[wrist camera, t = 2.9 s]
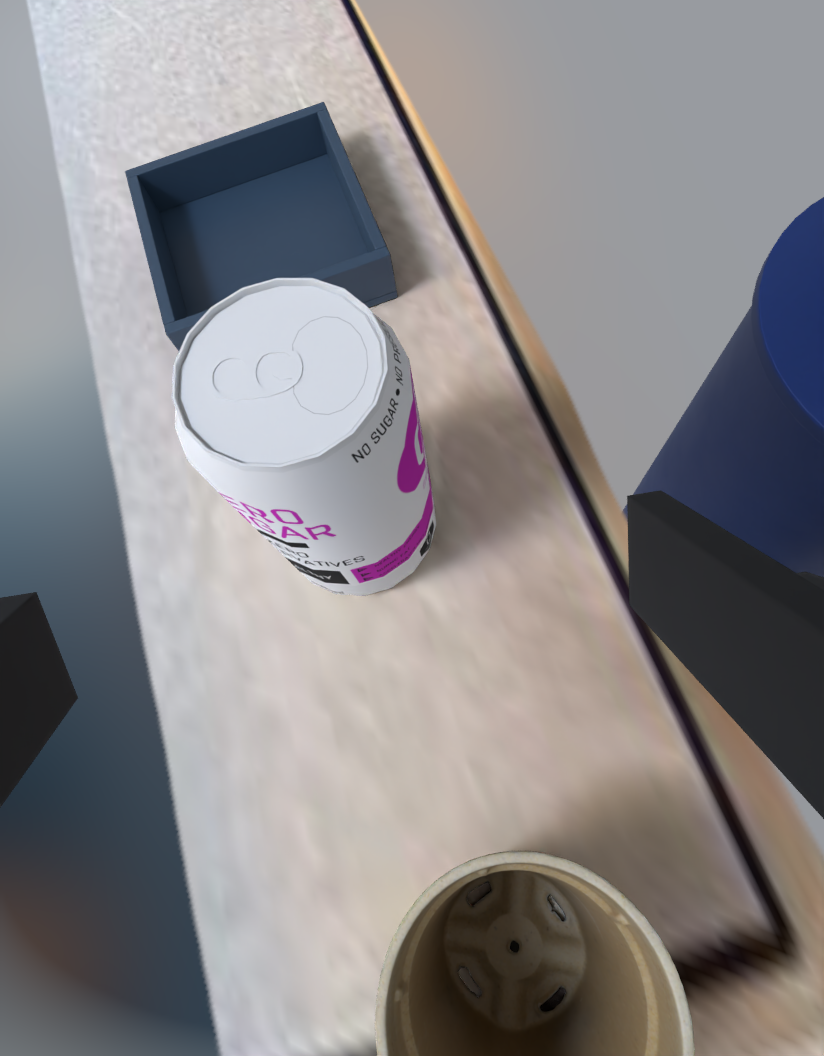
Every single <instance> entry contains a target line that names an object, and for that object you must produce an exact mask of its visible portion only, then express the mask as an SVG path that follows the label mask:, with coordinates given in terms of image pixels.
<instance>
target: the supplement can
mask: <svg viewBox="0 0 824 1056" xmlns="http://www.w3.org/2000/svg"><path fill="white" fill-rule="evenodd" d="M172 400H173V403H174V405H175V408H176V410H175V428H176V431H177V434H178V437H179V439H180V442H181V445H182V447H183V450H184V453H185V456H186V458H187V461H188V462H189V463H190V464H191V465H192V466H193V467H194V468H195V469H196V470H197V471H198V472H199V473H200V474H201V475H202V476H203V477H204V478H205V479H206V480H207V481H208V482H209V483H210V484H211V485H212V486H213V487H214V488H215V489H216V490H217V491H218V492H219V493H220V494H221V495H222V496H223V497H224V498H225V499H226V500H227V501H228V502H229V503H230V504H231V505H232V506H233V507H234V508H235V509H236V510H237V511H238V512H239V513H240V514H241V515H242V516H243V517H244V518H245V519H246V520H247V521H248V522H249V523H251V524H252V525H253V526H254V527H255V528H256V529H257V530H258V531H259V532H260V533H261V534H262V535H263V536H264V537H265V538H266V539H267V540H268V541H269V542H270V543H271V544H272V545H273V546H274V547H275V548H276V549H277V550H278V551H279V552H280V553H281V554H282V555H283V556H284V557H285V558H286V559H288V560H289V561H290V562H291V563H292V564H293V565H294V566H295V567H296V568H297V569H298V570H299V571H300V572H301V573H302V574H303V575H304V576H305V577H306V578H307V579H308V580H309V581H310V582H311V583H313V584H315V585H317V586H319V587H321V588H324V589H326V590H328V591H330V592H332V593H335V594H341V595H356V596H365V595H369V594H372V593H376V592H379V591H383V590H386V589H390V588H392V587H393V586H395V585H396V584H397V583H399V582H400V581H402V580H403V579H404V578H406V577H407V576H409V575H410V574H412V573H413V572H414V571H415V569H416V568H417V567H418V565H419V564H420V562H421V561H422V559H423V558H424V557H425V555H426V554H427V552H428V551H429V549H430V546H431V542H432V538H433V534H434V531H435V527H436V517H435V508H434V499H433V493H432V487H431V481H430V476H429V470H428V464H427V459H426V453H425V447H424V442H423V436H422V430H421V425H420V419H419V413H418V408H417V402H416V396H415V390H414V385H413V379H412V373H411V368H410V362H409V358H408V356H407V355H406V353H405V351H404V349H403V347H402V346H401V344H400V342H399V340H398V338H397V337H396V335H395V333H394V331H393V329H392V328H391V327H390V326H389V325H387V324H386V323H385V322H383V321H382V320H381V319H380V318H378V317H377V316H376V315H375V314H373V313H372V312H371V310H370V308H368V307H367V306H366V305H365V304H363V303H362V302H361V301H360V300H358V299H357V298H356V297H354V296H353V295H352V294H351V293H349V292H348V291H347V290H346V289H344V288H341V287H338V286H335V285H332V284H329V283H326V282H323V281H320V280H317V279H314V278H275V279H271V280H268V281H264V282H261V283H257V284H254V285H250V286H247V287H243V288H241V289H239V290H238V291H236V292H235V293H233V294H231V295H230V296H228V297H226V298H225V299H223V300H222V301H220V302H218V303H217V304H215V305H214V306H212V307H211V308H210V309H209V310H208V311H207V312H206V313H205V314H204V315H203V316H202V318H201V319H200V320H199V321H198V322H197V323H196V324H195V325H194V326H193V328H192V329H191V330H190V331H189V332H188V333H187V335H186V337H185V339H184V342H183V344H182V346H181V349H180V351H179V353H178V355H177V358H176V360H175V362H174V364H173V381H172Z"/></svg>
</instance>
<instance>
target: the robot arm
mask: <svg viewBox="0 0 824 1056" xmlns="http://www.w3.org/2000/svg"><path fill="white" fill-rule="evenodd" d="M627 499H628V502H627V503H628V553H629V603H630V606H631V607H632V608H633V609H634V611H635V612H636V613H637V614H638V615H639V616H640V617H641V618H642V619H643V620H644V622H645V623H646V624H647V625H648V626H649V627H650V628H651V629H652V630H653V631H654V633H655V634H656V635H657V636H658V637H659V638H660V639H661V640H662V641H663V642H664V644H665V645H666V646H667V647H668V648H669V649H670V650H671V651H672V652H673V653H674V655H675V656H676V657H677V658H678V659H679V660H680V661H681V662H682V663H683V664H684V666H685V667H686V668H687V669H688V670H689V671H690V672H691V673H692V674H693V675H694V677H695V678H696V679H697V680H698V681H699V682H700V683H701V684H702V685H703V686H704V688H705V689H706V690H707V691H708V692H709V693H710V694H711V695H712V696H713V697H714V699H715V700H716V701H717V702H718V703H719V704H720V705H721V706H722V707H723V708H724V710H725V711H726V712H727V713H728V714H729V715H730V716H731V717H732V718H733V720H734V721H735V722H736V723H737V724H738V725H739V726H740V727H741V728H742V729H743V731H744V732H745V733H746V734H747V735H748V736H749V737H750V738H751V739H752V740H753V742H754V743H755V744H756V745H757V746H758V747H759V748H760V749H761V750H762V751H763V753H764V754H765V755H766V756H767V757H768V758H769V759H770V760H771V761H772V762H773V764H774V765H775V766H776V767H777V768H778V769H779V770H780V771H781V772H782V773H783V775H784V776H785V777H786V778H787V779H788V780H789V781H790V782H791V783H792V784H793V786H794V787H795V788H796V789H797V790H798V791H799V792H800V793H801V794H802V795H803V796H804V798H805V799H806V800H807V801H808V802H809V803H810V804H811V805H812V806H813V808H814V809H815V810H816V811H818V813H819V814H820V815H821V816H822V817H823V819H824V577H820V576H817V575H814V574H811V573H808V572H801V573H795V572H793V571H792V570H790V569H788V568H787V567H785V566H783V565H782V564H780V563H779V562H777V561H775V560H774V559H772V558H770V557H769V556H767V555H765V554H764V553H762V552H761V551H759V550H757V549H756V548H754V547H752V546H751V545H749V544H747V543H746V542H744V541H743V540H741V539H739V538H738V537H736V536H734V535H733V534H731V533H729V532H728V531H726V530H725V529H723V528H721V527H720V526H718V525H716V524H715V523H713V522H711V521H710V520H708V519H707V518H705V517H703V516H702V515H700V514H698V513H697V512H695V511H693V510H692V509H690V508H689V507H687V506H685V505H684V504H682V503H680V502H679V501H677V500H675V499H674V498H672V497H671V496H669V495H667V494H666V493H664V492H662V491H655V492H649V493H643V494H636V495H630V496H627ZM77 699H78V697H77V694H76V692H75V689H74V687H73V684H72V682H71V679H70V677H69V674H68V671H67V669H66V666H65V664H64V661H63V659H62V656H61V654H60V651H59V648H58V646H57V643H56V641H55V638H54V636H53V633H52V631H51V628H50V626H49V623H48V621H47V618H46V615H45V613H44V611H43V608H42V606H41V603H40V600H39V598H38V595H37V593H36V592H34V593H28V594H21V595H16V596H9V597H3V598H0V807H1V806H2V805H3V803H4V802H5V800H6V799H7V797H8V796H9V795H10V793H11V792H12V790H13V789H14V788H15V786H16V785H17V783H18V782H19V781H20V779H21V778H22V776H23V775H24V773H25V772H26V771H27V769H28V768H29V766H30V765H31V764H32V762H33V760H34V759H35V758H36V757H37V755H38V754H39V752H40V751H41V749H42V748H43V747H44V745H45V744H46V742H47V741H48V740H49V738H50V737H51V735H52V734H53V732H54V731H55V730H56V728H57V727H58V725H59V724H60V723H61V721H62V720H63V718H64V717H65V715H66V714H67V712H68V711H69V710H70V708H71V707H72V706H73V704H74V703H75V701H76V700H77Z"/></svg>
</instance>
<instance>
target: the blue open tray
mask: <svg viewBox="0 0 824 1056" xmlns="http://www.w3.org/2000/svg"><path fill="white" fill-rule="evenodd" d="M125 173H126V177H127V181H128V185H129V189H130V193H131V197H132V201H133V205H134V209H135V213H136V217H137V221H138V225H139V229H140V233H141V237H142V241H143V245H144V249H145V253H146V257H147V261H148V265H149V268H150V272H151V276H152V280H153V284H154V288H155V292H156V296H157V300H158V304H159V308H160V312H161V316H162V320H163V324H164V328H165V332H166V335H167V336H168V337H169V339H170V340H171V341H172V343H173V344H174V345H175V347H176V348H177V349H178V351H180V349H181V346H182V344H183V342H184V339H185V337H186V335H187V333H188V332H189V331H190V330H191V329H192V328H193V326H194V325H195V324H196V323H197V322H198V321H199V320H200V319H201V318H202V316H203V315H204V314H205V313H206V312H207V311H208V310H209V309H210V308H211V307H212V306H214V305H215V304H217V303H218V302H220V301H222V300H223V299H225V298H226V297H228V296H230V295H231V294H233V293H235V292H236V291H238V290H239V289H241V288H243V287H247V286H250V285H254V284H257V283H261V282H264V281H268V280H271V279H275V278H314V279H317V280H320V281H323V282H326V283H329V284H332V285H335V286H338V287H341V288H344V289H346V290H347V291H348V292H349V293H351V294H352V295H353V296H354V297H356V298H357V299H358V300H360V301H361V302H362V303H363V304H365V305H366V306H367V307H368V308H369V307H372V306H375V305H377V304H380V303H383V302H386V301H389V300H391V299H394V298H397V297H398V295H397V290H396V284H395V279H394V273H393V267H392V262H391V256H390V253H389V251H388V248H387V247H386V244H385V241H384V239H383V237H382V234H381V232H380V230H379V228H378V225H377V223H376V221H375V218H374V216H373V214H372V211H371V209H370V207H369V205H368V202H367V200H366V198H365V195H364V193H363V191H362V188H361V186H360V184H359V182H358V179H357V177H356V175H355V172H354V170H353V168H352V165H351V163H350V161H349V159H348V156H347V154H346V152H345V149H344V147H343V145H342V142H341V140H340V138H339V135H338V133H337V131H336V129H335V126H334V124H333V122H332V119H331V117H330V115H329V112H328V110H327V108H326V105H325V103H324V102H322V103H319V104H316V105H313V106H310V107H307V108H305V109H302V110H299V111H296V112H293V113H290V114H287V115H284V116H282V117H279V118H276V119H273V120H270V121H267V122H264V123H262V124H259V125H256V126H253V127H250V128H247V129H244V130H241V131H239V132H236V133H233V134H230V135H227V136H224V137H221V138H219V139H216V140H213V141H210V142H207V143H204V144H201V145H199V146H196V147H193V148H190V149H187V150H184V151H181V152H178V153H176V154H173V155H170V156H167V157H164V158H161V159H158V160H156V161H153V162H150V163H147V164H144V165H141V166H138V167H136V168H133V169H130V170H127V171H125Z"/></svg>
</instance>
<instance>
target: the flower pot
mask: <svg viewBox="0 0 824 1056" xmlns="http://www.w3.org/2000/svg"><path fill="white" fill-rule="evenodd" d="M486 882H489V883H490V886H491V887H492V889H491V892H490V893H488V894H487V895H486V896H484V897H483V898H482V899H480V900H479V901H478V902H477V903H476V904H475V905H474V906H472V905H471V904H469V902H468V901H467V897H468V894H469V892H470V891H472V890H473V889H475V888H476V887H478V886H480V885H482V884H483V883H486ZM549 895H551V896H552V897H553V898H554V899H555V901H556V902H557V903H558V905H559V906H560V907H561V909H562V910H563V912H564V914H565V920H564V921H562V920H561V919H560V917H559V916H558V915H557V913H556V912H552V911H551V910H552V907H551V905H550V903H549V901H548V900H547V898H548V896H549ZM512 941H515V942H517V943H518V944H519V950H518V952H512V951H511V950H510V944H511V942H512ZM460 967H466V968H467V969H468V970H469V972H470V974H471V977H472V979H473V981H474V982H475V983H476V985H477V986H478V987H479V989H480V990H481V995H480V996H479V997H477V995H476V994H475V993H473V992H472V991H470V989H469V988H468V987H467V986H466V984H465V983H464V982H463V980H462V979H461V978H460V976H459V973H458V970H459V969H460ZM560 987H562V988H564V989H565V991H566V994H565V995H564V997H563V1000H562V1002H561V1003H560V1004H559V1005H557V1006H556V1007H555V1009H553V1010H551V1011H547V1012H544V1011H541V1009H540V1006H541V1005H542V1004H543V1003H544V1002H546V1001H547V1000H548V999H549V998H550V997H551V996H552V995H553V994H555V993H556V991H557V990H558V989H559V988H560ZM375 1034H376V1046H377V1056H695V1050H694V1036H693V1026H692V1021H691V1014H690V1011H689V1006H688V1002H687V998H686V994H685V992H684V988H683V985H682V983H681V980H680V978H679V974H678V972H677V970H676V968H675V965H674V963H673V961H672V959H671V957H670V955H669V953H668V951H667V949H666V948H665V946H664V944H663V942H662V940H661V939H660V937H659V935H658V934H657V933H656V931H655V930H654V929H653V927H652V926H651V924H650V923H649V922H648V921H647V919H646V918H645V917H644V915H643V914H642V913H641V912H640V911H639V910H638V909H637V908H636V907H635V905H634V904H633V903H632V902H631V901H630V900H629V899H628V898H627V897H626V896H625V895H624V894H623V893H622V892H620V891H619V890H618V889H617V888H616V887H614V886H613V885H612V884H611V883H609V882H608V881H607V880H606V879H604V878H603V877H601V876H600V875H598V874H596V873H594V872H593V871H591V870H589V869H587V868H586V867H584V866H582V865H579V864H577V863H575V862H573V861H570V860H567V859H564V858H561V857H558V856H555V855H551V854H546V853H540V852H534V851H508V852H500V853H494V854H489V855H486V856H482V857H479V858H476V859H473V860H470V861H468V862H466V863H464V864H462V865H460V866H458V867H456V868H454V869H452V870H451V871H449V872H448V873H446V874H445V875H443V876H442V877H440V878H439V879H438V880H436V881H435V882H434V883H433V884H432V885H431V886H430V887H429V888H428V889H426V890H425V891H424V892H423V893H422V895H421V896H420V897H419V898H418V899H417V900H416V902H415V903H414V904H413V906H412V907H411V908H410V910H409V911H408V912H407V914H406V916H405V917H404V919H403V920H402V922H401V924H400V925H399V927H398V929H397V931H396V933H395V935H394V937H393V939H392V941H391V944H390V946H389V949H388V951H387V954H386V957H385V961H384V964H383V968H382V971H381V975H380V980H379V986H378V993H377V1000H376V1011H375Z"/></svg>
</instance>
